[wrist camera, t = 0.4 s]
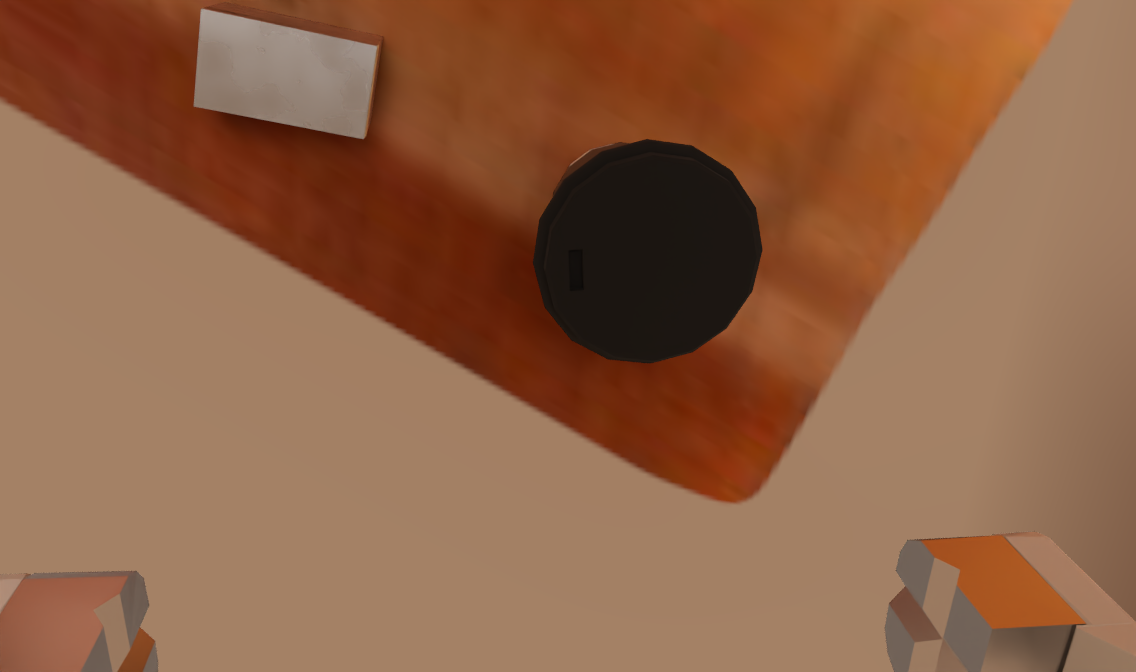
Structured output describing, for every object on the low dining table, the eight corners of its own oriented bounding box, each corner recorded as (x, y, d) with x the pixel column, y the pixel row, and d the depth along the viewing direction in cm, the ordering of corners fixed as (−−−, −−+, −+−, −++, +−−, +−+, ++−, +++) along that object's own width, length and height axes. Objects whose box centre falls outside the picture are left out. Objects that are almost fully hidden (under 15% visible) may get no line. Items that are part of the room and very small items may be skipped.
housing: (224, 1, 48) (199, 8, 43) (384, 36, 49) (377, 46, 44) (216, 90, 49) (192, 106, 44) (372, 120, 51) (364, 139, 46)
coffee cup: (522, 295, 56) (541, 381, 45) (511, 109, 51) (529, 153, 40) (701, 281, 57) (763, 362, 46) (705, 98, 52) (775, 138, 41)
